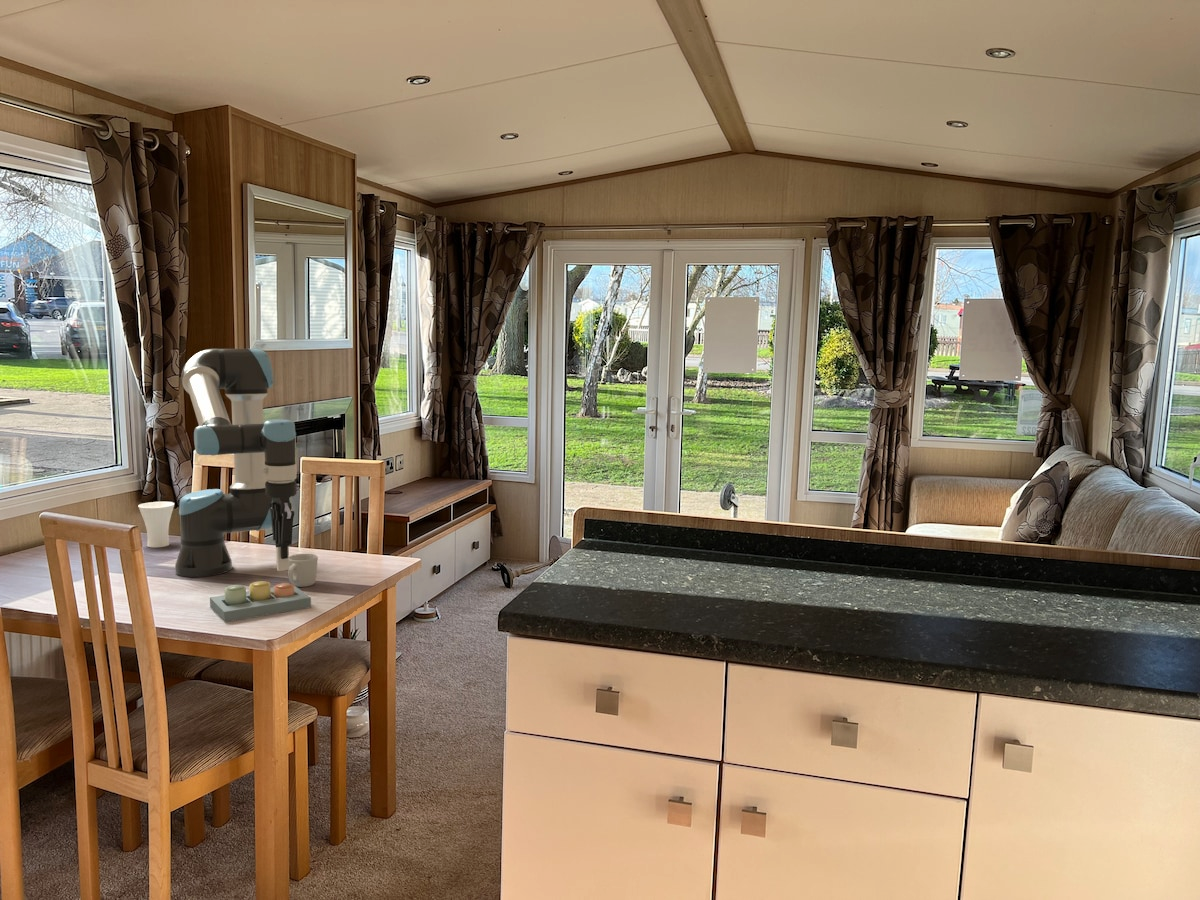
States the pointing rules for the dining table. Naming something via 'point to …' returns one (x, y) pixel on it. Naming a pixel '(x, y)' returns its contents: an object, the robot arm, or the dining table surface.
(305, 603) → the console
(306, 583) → the cup
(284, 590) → the button terracotta
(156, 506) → the cup
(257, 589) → the button ochre
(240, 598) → the button sage
